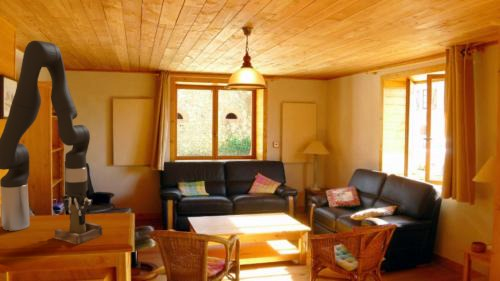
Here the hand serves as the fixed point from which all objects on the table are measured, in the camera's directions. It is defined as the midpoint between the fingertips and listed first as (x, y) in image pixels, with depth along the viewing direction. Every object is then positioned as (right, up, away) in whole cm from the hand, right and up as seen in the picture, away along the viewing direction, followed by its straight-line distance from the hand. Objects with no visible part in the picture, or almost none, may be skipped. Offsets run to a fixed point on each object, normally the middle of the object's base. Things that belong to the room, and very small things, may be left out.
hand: (77, 223), depth 153 cm
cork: (0, -3, +1) cm, 4 cm away
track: (0, -5, +1) cm, 5 cm away
